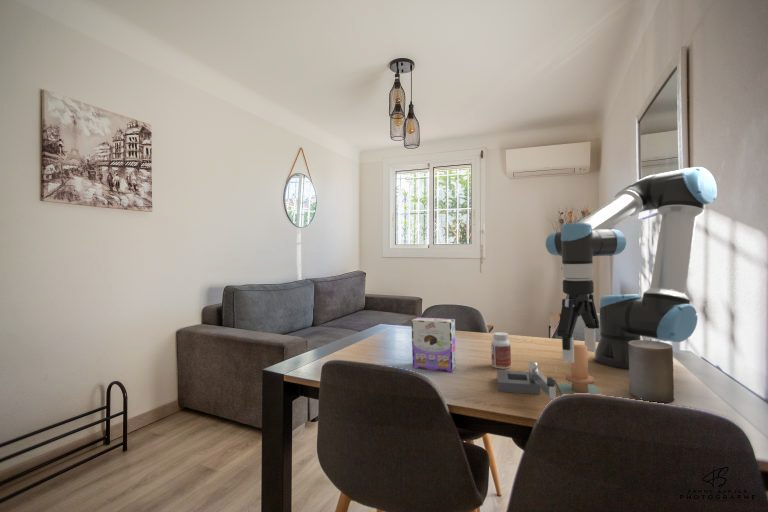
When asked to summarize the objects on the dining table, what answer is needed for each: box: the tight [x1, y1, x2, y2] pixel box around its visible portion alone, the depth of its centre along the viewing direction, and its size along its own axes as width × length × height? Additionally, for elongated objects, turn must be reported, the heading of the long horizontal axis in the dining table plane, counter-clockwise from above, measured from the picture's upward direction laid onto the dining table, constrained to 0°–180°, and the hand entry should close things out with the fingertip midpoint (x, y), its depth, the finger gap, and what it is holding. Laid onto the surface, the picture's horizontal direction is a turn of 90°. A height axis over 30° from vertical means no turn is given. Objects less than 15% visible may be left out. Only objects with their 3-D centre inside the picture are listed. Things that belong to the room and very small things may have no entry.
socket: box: [496, 369, 541, 395], centre depth 109 cm, size 11×11×2 cm
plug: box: [564, 344, 595, 393], centre depth 104 cm, size 7×7×12 cm
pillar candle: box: [628, 338, 675, 403], centre depth 100 cm, size 10×10×15 cm
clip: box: [528, 361, 557, 400], centre depth 97 cm, size 16×2×6 cm, turn 175°
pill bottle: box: [490, 331, 512, 370], centre depth 127 cm, size 6×6×11 cm
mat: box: [556, 382, 602, 395], centre depth 104 cm, size 10×10×1 cm
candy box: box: [410, 316, 457, 373], centre depth 127 cm, size 14×6×16 cm, turn 65°
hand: (579, 356), depth 104 cm, fingers open, 13 cm apart
